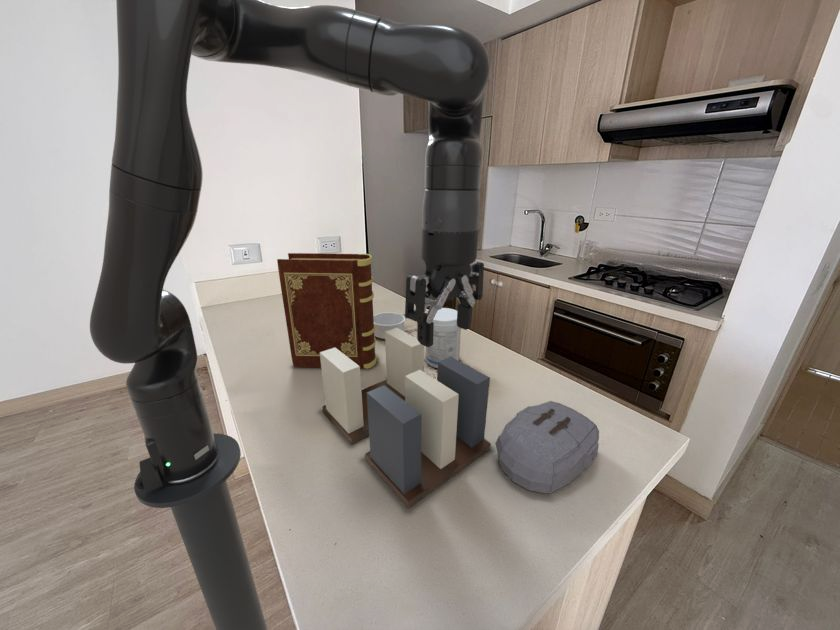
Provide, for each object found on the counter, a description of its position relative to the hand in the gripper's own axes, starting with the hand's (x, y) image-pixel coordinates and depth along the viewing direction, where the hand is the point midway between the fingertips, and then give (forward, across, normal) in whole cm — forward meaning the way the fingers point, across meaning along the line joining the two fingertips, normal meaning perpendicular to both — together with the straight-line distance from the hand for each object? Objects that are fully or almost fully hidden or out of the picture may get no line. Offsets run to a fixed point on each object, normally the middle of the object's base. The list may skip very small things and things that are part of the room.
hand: (445, 335), depth 51 cm
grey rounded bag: (+26, -16, +12) cm, 33 cm away
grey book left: (+25, +7, -4) cm, 26 cm away
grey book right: (+25, -9, -3) cm, 27 cm away
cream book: (+25, -1, -4) cm, 25 cm away
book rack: (+26, -2, -13) cm, 29 cm away
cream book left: (+25, +5, -22) cm, 34 cm away
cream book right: (+25, -11, -21) cm, 34 cm away
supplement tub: (+26, -29, -25) cm, 47 cm away
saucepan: (+27, -34, -50) cm, 66 cm away
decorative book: (+27, -8, -46) cm, 54 cm away
